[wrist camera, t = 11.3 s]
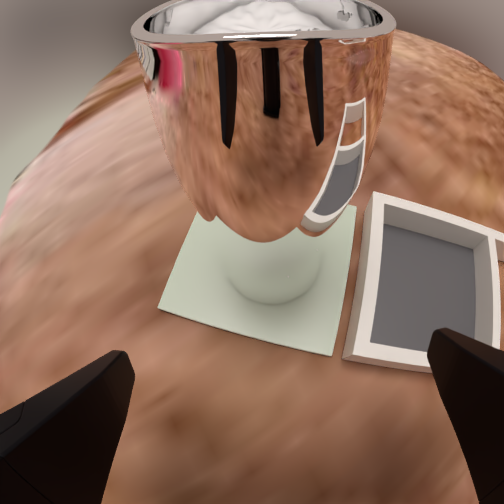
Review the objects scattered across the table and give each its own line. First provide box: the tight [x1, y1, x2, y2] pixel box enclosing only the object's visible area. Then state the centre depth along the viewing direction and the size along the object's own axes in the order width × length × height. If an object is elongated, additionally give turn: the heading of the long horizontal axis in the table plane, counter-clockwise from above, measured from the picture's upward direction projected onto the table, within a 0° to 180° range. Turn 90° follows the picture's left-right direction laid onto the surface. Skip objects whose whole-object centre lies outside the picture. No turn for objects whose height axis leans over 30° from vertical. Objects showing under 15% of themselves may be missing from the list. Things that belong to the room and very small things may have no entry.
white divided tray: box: [158, 191, 504, 373], centre depth 16 cm, size 32×11×2 cm, turn 74°
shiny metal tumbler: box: [131, 0, 396, 304], centre depth 12 cm, size 7×7×15 cm
